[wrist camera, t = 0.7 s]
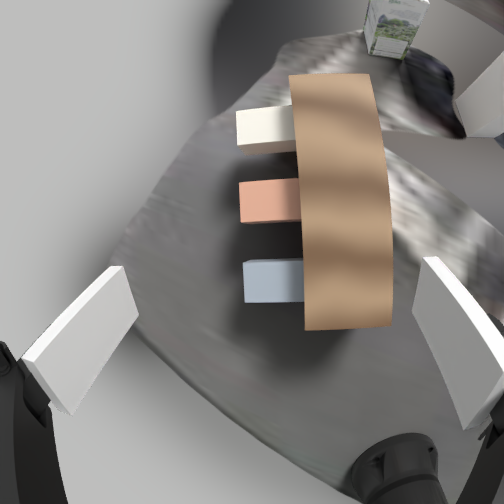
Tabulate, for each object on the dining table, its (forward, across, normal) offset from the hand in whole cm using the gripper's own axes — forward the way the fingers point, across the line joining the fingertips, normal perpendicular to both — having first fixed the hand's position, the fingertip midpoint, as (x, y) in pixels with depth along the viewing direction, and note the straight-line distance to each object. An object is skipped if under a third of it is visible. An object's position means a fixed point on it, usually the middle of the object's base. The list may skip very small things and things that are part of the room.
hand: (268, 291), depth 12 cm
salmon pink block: (+21, -1, +2) cm, 21 cm away
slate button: (+18, -1, +9) cm, 20 cm away
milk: (+29, -30, -9) cm, 43 cm away
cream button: (+24, -1, -5) cm, 25 cm away
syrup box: (+34, -17, -20) cm, 43 cm away
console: (+25, -6, +3) cm, 26 cm away
